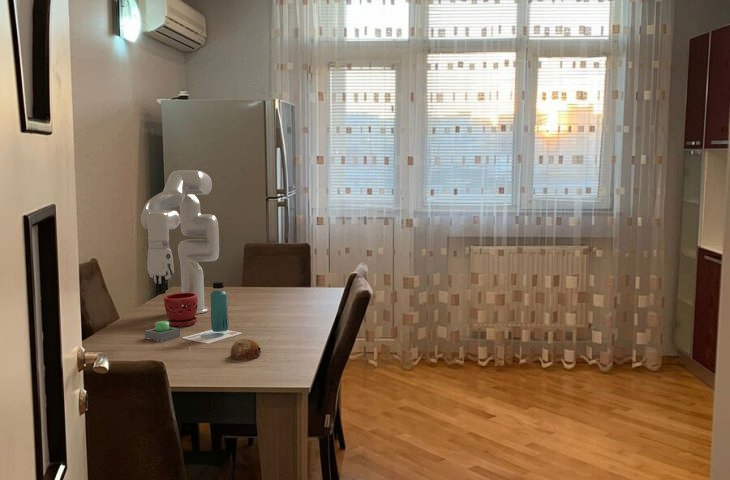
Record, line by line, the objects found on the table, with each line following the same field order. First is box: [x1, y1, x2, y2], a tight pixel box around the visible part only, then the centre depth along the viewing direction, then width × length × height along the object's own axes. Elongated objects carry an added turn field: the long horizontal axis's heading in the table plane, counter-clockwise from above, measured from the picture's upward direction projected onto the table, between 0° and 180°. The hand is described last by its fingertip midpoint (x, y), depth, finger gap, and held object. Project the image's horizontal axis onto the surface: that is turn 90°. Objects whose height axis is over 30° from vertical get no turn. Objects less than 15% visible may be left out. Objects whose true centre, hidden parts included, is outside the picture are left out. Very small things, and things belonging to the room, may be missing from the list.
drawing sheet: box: [181, 329, 244, 345], centre depth 283 cm, size 14×18×1 cm
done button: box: [154, 320, 170, 333], centre depth 281 cm, size 5×5×4 cm
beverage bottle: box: [209, 281, 229, 332], centre depth 283 cm, size 6×7×20 cm
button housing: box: [144, 326, 181, 342], centre depth 281 cm, size 9×9×3 cm
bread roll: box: [230, 338, 262, 361], centre depth 255 cm, size 10×10×8 cm
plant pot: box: [163, 292, 198, 328], centre depth 302 cm, size 13×13×12 cm
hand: (160, 293), depth 279 cm, fingers closed
